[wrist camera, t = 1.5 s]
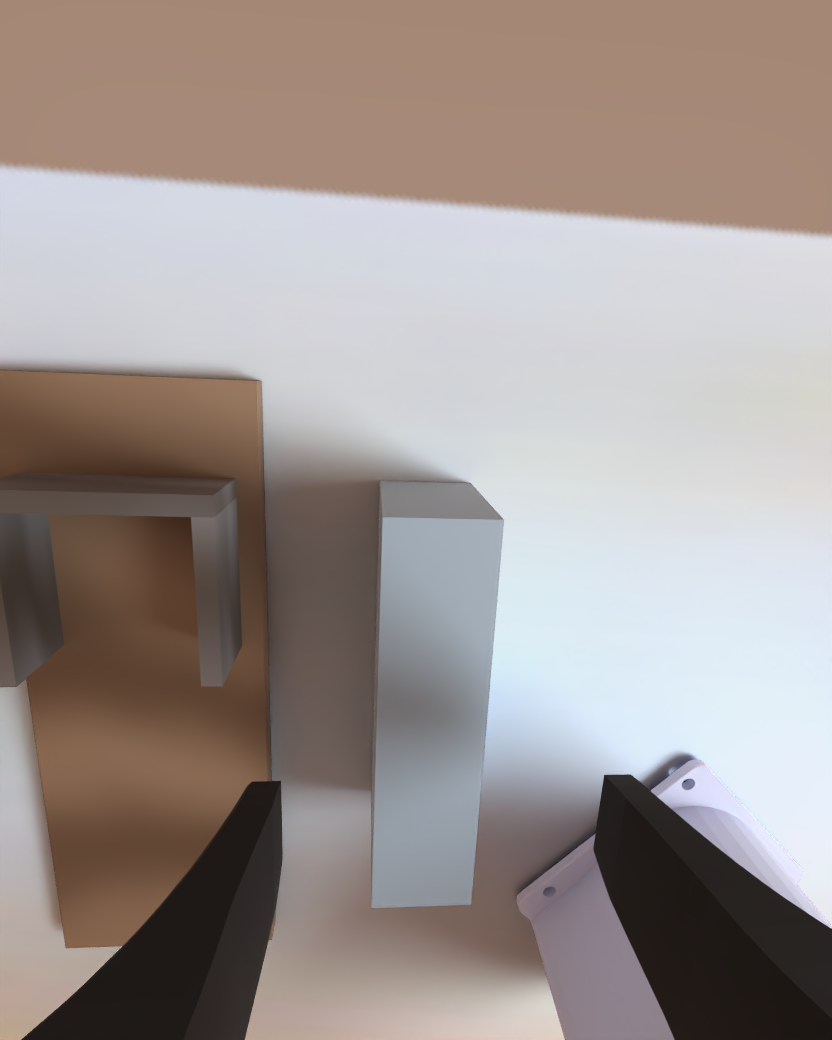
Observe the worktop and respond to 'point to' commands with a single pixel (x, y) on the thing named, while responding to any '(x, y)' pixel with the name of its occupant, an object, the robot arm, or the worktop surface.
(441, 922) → the worktop surface
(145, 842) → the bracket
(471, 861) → the rail
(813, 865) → the worktop surface
